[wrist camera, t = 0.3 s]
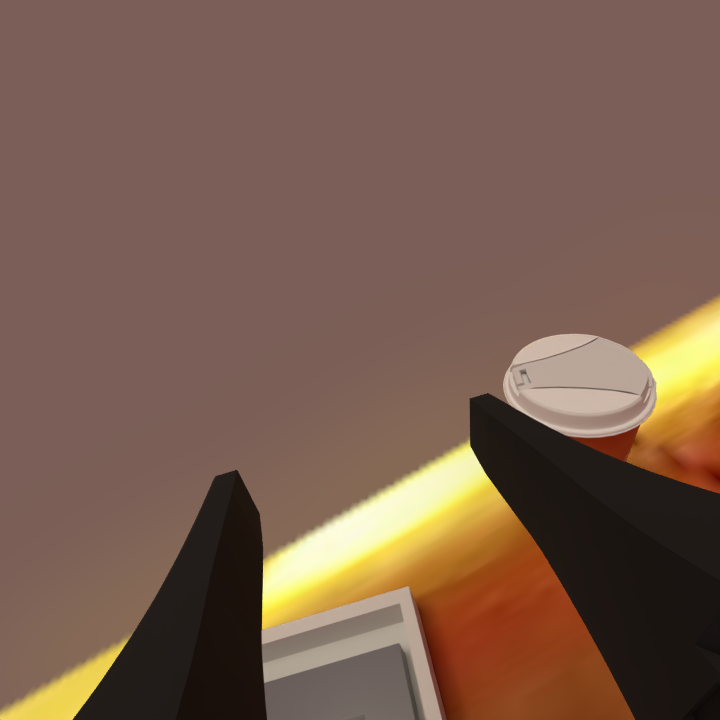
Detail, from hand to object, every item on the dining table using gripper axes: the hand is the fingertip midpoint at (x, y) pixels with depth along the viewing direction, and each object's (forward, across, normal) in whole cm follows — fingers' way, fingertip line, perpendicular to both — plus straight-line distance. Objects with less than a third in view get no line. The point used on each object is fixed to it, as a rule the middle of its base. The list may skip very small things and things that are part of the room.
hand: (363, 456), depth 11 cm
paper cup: (+7, -15, +19) cm, 25 cm away
